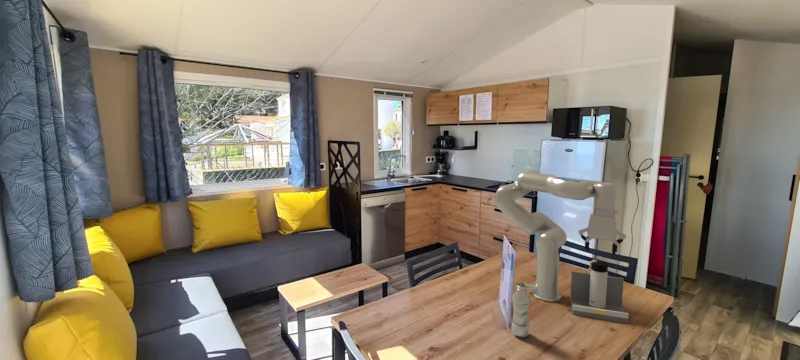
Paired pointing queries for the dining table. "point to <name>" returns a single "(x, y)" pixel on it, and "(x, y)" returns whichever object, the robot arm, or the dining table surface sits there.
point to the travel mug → (598, 285)
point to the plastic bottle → (521, 311)
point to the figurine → (590, 266)
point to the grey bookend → (613, 298)
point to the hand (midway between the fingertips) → (600, 252)
